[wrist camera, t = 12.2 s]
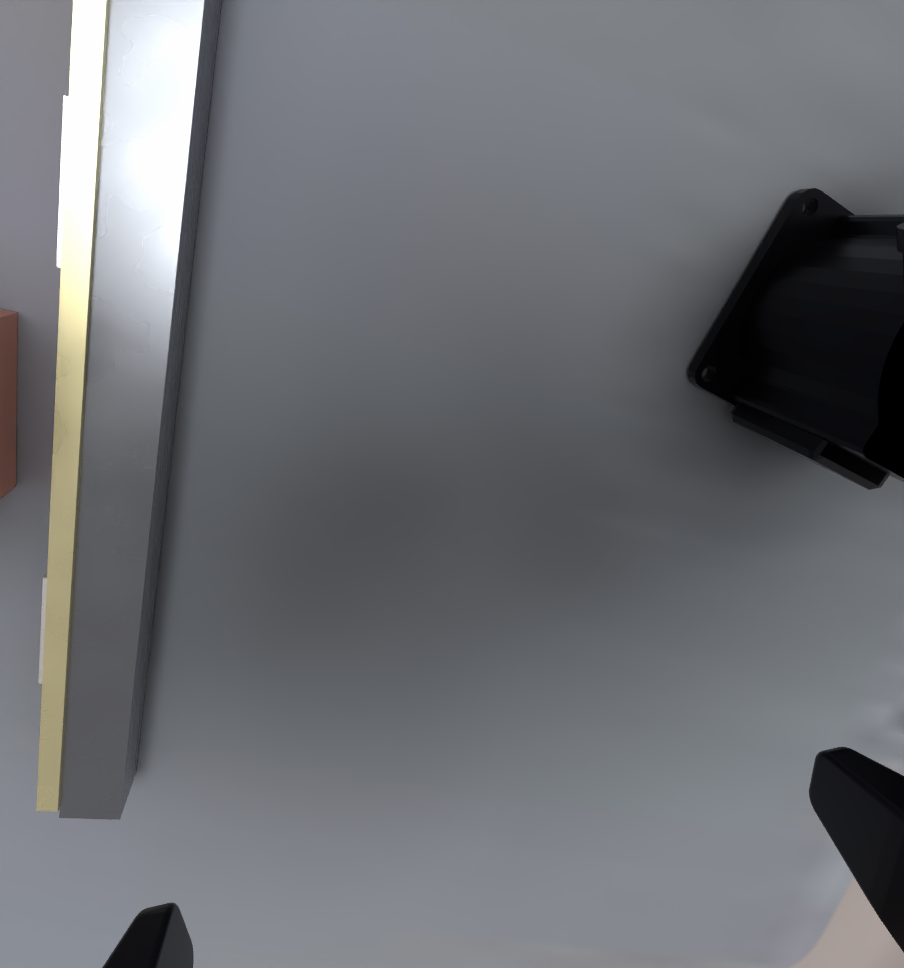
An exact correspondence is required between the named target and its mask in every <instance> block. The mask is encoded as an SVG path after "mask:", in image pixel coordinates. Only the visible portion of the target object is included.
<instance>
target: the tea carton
mask: <svg viewBox="0 0 904 968" xmlns="http://www.w3.org/2000/svg"><path fill="white" fill-rule="evenodd" d="M17 334H18V312H13V311H8V310H3V309H0V499H1V498H2V497H3V496H5V495H6V494H7V493H8V492H9V491H10V490H12V489H13V488H14V487H15V486H16V436H17Z"/></svg>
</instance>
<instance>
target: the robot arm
mask: <svg viewBox="0 0 904 968" xmlns="http://www.w3.org/2000/svg"><path fill="white" fill-rule="evenodd" d="M806 200H808V202H809V208H808V210H807V212H806V213H805V214H804V213H803V208H802V207H803V204H804V202H805V201H806ZM708 366H709V368H710V372H709V374H708V375H707V377H706V378H702V372H703V370H704V369H705V368H706V367H708ZM689 379H690V381H691V382H692V383H693V384H694V385H696V386H697V387H699V388H701V389H703V390H705V391H707V392H709V393H711V394H712V395H714V396H716V397H718V398H720V399H722V400H724V401H726V402H728V403H729V404H731V405H733V406H735V407H734V409H733V410H732V412H731V416H732V420H733V422H735V423H737V424H739V425H741V426H743V427H745V428H747V429H748V430H750V431H752V432H754V433H756V434H758V435H760V436H762V437H764V438H766V439H768V440H770V441H772V442H774V443H775V444H777V445H779V446H781V447H783V448H785V449H787V450H789V451H791V452H793V453H795V454H797V455H799V456H802V457H804V458H806V459H808V460H810V461H812V462H814V463H816V464H818V465H820V466H822V467H824V468H826V469H828V470H830V471H832V472H834V473H836V474H838V475H840V476H842V477H844V478H846V479H848V480H851V481H853V482H855V483H857V484H859V485H861V486H863V487H865V488H867V489H869V490H870V489H875V488H879V487H881V486H882V485H883V483H884V482H885V481H886V479H887V478H888V476H889V475H890V476H892V477H894V478H896V479H899V480H901V481H903V482H904V215H854V214H853V213H851V212H850V211H848V210H847V209H846V208H844V207H843V206H842V205H840V204H839V203H837V202H836V201H835V200H833V199H832V198H830V197H829V196H828V195H826V194H825V193H823V192H822V191H821V190H818V189H816V188H811V189H802V190H799V191H797V192H795V193H794V194H793V195H792V196H791V198H790V199H789V200H788V202H787V204H786V206H785V207H784V209H783V211H782V212H781V214H780V216H779V217H778V219H777V221H776V222H775V224H774V226H773V227H772V229H771V231H770V232H769V234H768V236H767V238H766V239H765V241H764V243H763V244H762V246H761V248H760V249H759V251H758V253H757V254H756V256H755V258H754V259H753V261H752V263H751V264H750V266H749V268H748V270H747V271H746V273H745V275H744V276H743V278H742V280H741V281H740V283H739V285H738V286H737V288H736V290H735V291H734V293H733V295H732V296H731V298H730V300H729V302H728V303H727V305H726V307H725V308H724V310H723V312H722V313H721V315H720V317H719V318H718V320H717V322H716V323H715V325H714V327H713V328H712V330H711V332H710V334H709V335H708V337H707V339H706V340H705V342H704V344H703V345H702V347H701V349H700V350H699V352H698V354H697V355H696V357H695V359H694V360H693V362H692V364H691V366H690V368H689ZM809 797H810V801H811V804H812V806H813V808H814V810H815V812H816V814H817V815H818V817H819V819H820V820H821V822H822V824H823V825H824V827H825V829H826V830H827V832H828V834H829V836H830V837H831V839H832V841H833V842H834V844H835V846H836V847H837V849H838V851H839V852H840V854H841V856H842V857H843V859H844V861H845V862H846V864H847V866H848V867H849V869H850V871H851V872H852V874H853V876H854V877H855V879H856V881H857V882H858V884H859V886H860V887H861V889H862V890H863V892H864V894H865V896H866V897H867V899H868V900H869V902H870V904H871V905H872V907H873V908H874V910H875V911H876V913H877V915H878V916H879V918H880V919H881V921H882V922H883V924H884V925H885V926H886V928H887V929H888V931H889V932H890V934H891V935H892V937H893V938H894V939H895V941H896V942H897V944H898V945H899V946H900V948H901V949H902V951H903V952H904V776H902V775H901V774H899V773H897V772H895V771H893V770H891V769H889V768H887V767H885V766H883V765H881V764H879V763H878V762H876V761H874V760H872V759H870V758H868V757H866V756H864V755H862V754H860V753H858V752H856V751H854V750H852V749H850V748H847V747H837V748H833V749H829V750H825V751H821V752H819V753H818V754H817V756H816V758H815V763H814V768H813V773H812V778H811V783H810V788H809ZM103 968H193V946H192V942H191V939H190V936H189V933H188V931H187V928H186V925H185V923H184V920H183V917H182V915H181V912H180V909H179V907H178V906H177V905H176V904H175V903H167V904H163V905H158V906H154V907H150V908H146V909H144V910H142V911H141V912H140V913H139V914H138V915H137V916H136V918H135V919H134V920H133V922H132V923H131V925H130V927H129V928H128V930H127V931H126V933H125V934H124V936H123V937H122V939H121V940H120V942H119V943H118V945H117V946H116V948H115V949H114V951H113V952H112V954H111V955H110V957H109V958H108V960H107V961H106V963H105V965H104V966H103Z"/></svg>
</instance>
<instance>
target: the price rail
mask: <svg viewBox="0 0 904 968" xmlns="http://www.w3.org/2000/svg"><path fill="white" fill-rule="evenodd" d="M221 4H222V0H73V16H72V39H71V61H70V83H69V97H68V96H64V101H63V124H62V148H61V171H60V194H59V217H58V241H57V264H56V267H59V268H61V281H60V303H59V325H58V347H57V369H56V391H55V413H54V436H53V458H52V480H51V502H50V524H49V546H48V568H47V574H46V575H45V576H44V577H43V590H42V613H41V637H40V660H39V683H40V684H42V700H41V722H40V744H39V766H38V788H37V811H58V810H59V807H60V815H59V818H87V819H120V817H121V814H122V812H123V809H124V806H125V803H126V800H127V797H128V794H129V791H130V788H131V785H132V783H133V780H134V777H135V774H136V769H137V760H138V751H139V742H140V733H141V724H142V715H143V706H144V697H145V688H146V679H147V670H148V661H149V652H150V643H151V634H152V625H153V616H154V607H155V598H156V589H157V580H158V571H159V562H160V553H161V544H162V535H163V526H164V517H165V508H166V499H167V490H168V481H169V472H170V463H171V454H172V445H173V436H174V427H175V418H176V409H177V400H178V391H179V382H180V373H181V364H182V355H183V346H184V337H185V328H186V319H187V310H188V301H189V292H190V283H191V274H192V265H193V256H194V247H195V238H196V229H197V220H198V211H199V202H200V193H201V184H202V175H203V166H204V157H205V148H206V139H207V130H208V121H209V112H210V103H211V94H212V85H213V76H214V67H215V58H216V49H217V40H218V31H219V22H220V13H221Z"/></svg>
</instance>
